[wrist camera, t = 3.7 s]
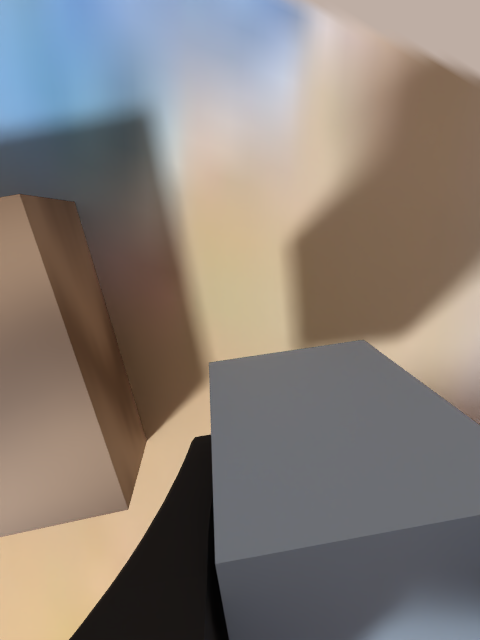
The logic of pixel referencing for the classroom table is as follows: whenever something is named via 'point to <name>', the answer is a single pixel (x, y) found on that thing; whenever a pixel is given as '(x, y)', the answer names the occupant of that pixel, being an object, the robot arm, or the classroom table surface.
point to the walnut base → (59, 376)
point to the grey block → (342, 499)
